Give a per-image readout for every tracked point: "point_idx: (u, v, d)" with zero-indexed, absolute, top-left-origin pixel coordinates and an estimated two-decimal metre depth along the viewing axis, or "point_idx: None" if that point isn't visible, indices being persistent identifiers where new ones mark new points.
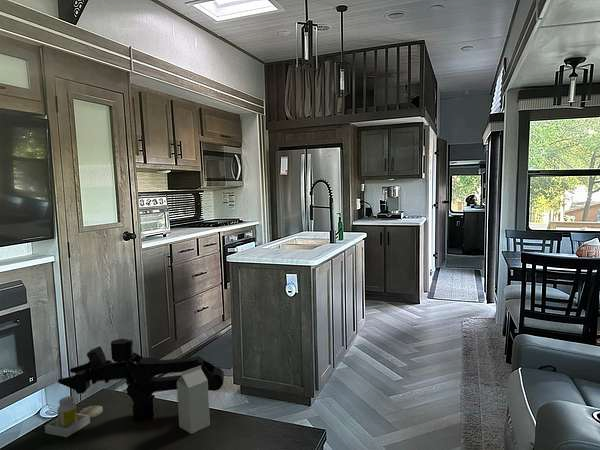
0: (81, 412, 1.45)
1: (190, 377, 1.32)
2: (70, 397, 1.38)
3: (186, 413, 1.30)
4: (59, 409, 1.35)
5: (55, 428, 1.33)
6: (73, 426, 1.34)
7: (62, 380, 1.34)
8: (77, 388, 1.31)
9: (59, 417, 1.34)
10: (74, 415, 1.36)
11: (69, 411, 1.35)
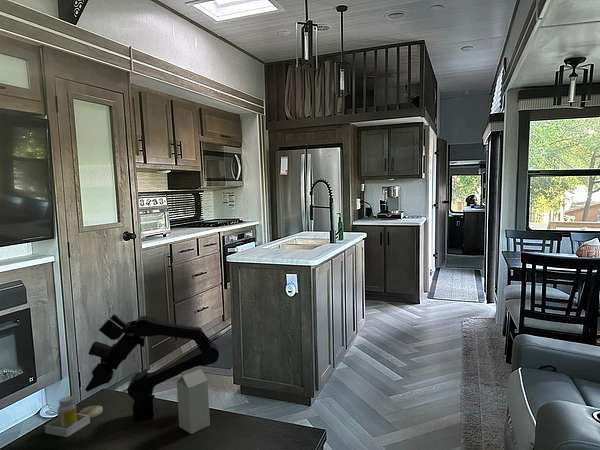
0: (81, 412, 1.45)
1: (190, 377, 1.32)
2: (70, 397, 1.38)
3: (186, 413, 1.30)
4: (59, 409, 1.35)
5: (55, 428, 1.33)
6: (73, 426, 1.34)
7: (88, 387, 1.33)
8: (103, 379, 1.31)
9: (59, 417, 1.34)
10: (74, 415, 1.36)
11: (69, 411, 1.35)
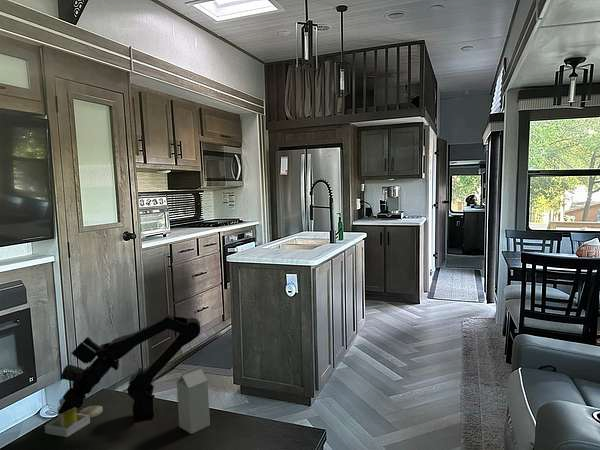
0: (81, 412, 1.45)
1: (190, 377, 1.32)
2: None
3: (186, 413, 1.30)
4: (59, 409, 1.35)
5: (55, 428, 1.33)
6: (73, 426, 1.34)
7: (61, 409, 1.33)
8: (74, 405, 1.29)
9: (59, 417, 1.34)
10: (74, 415, 1.36)
11: (69, 411, 1.35)
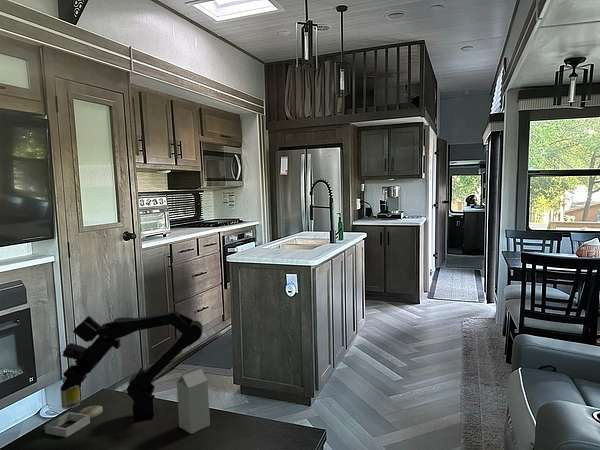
0: (81, 412, 1.45)
1: (190, 377, 1.32)
2: None
3: (186, 413, 1.30)
4: None
5: (55, 428, 1.33)
6: (73, 426, 1.34)
7: (63, 387, 1.35)
8: (74, 381, 1.30)
9: (62, 394, 1.36)
10: (77, 393, 1.38)
11: (71, 388, 1.36)
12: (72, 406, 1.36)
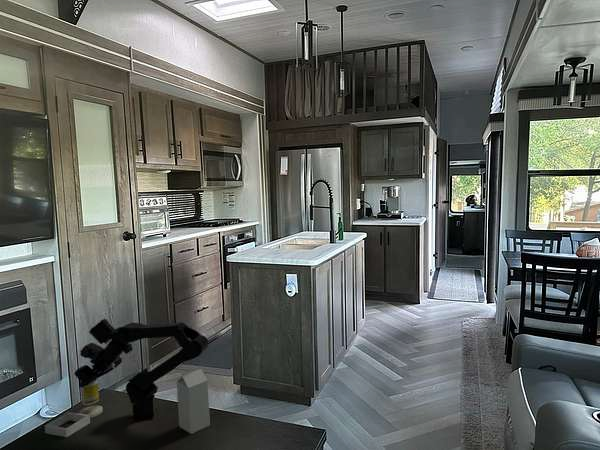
0: (81, 412, 1.45)
1: (190, 377, 1.32)
2: None
3: (186, 413, 1.30)
4: None
5: (55, 428, 1.33)
6: (73, 426, 1.34)
7: (81, 384, 1.43)
8: (82, 381, 1.36)
9: (81, 391, 1.44)
10: (94, 391, 1.45)
11: (88, 386, 1.43)
12: (89, 403, 1.44)
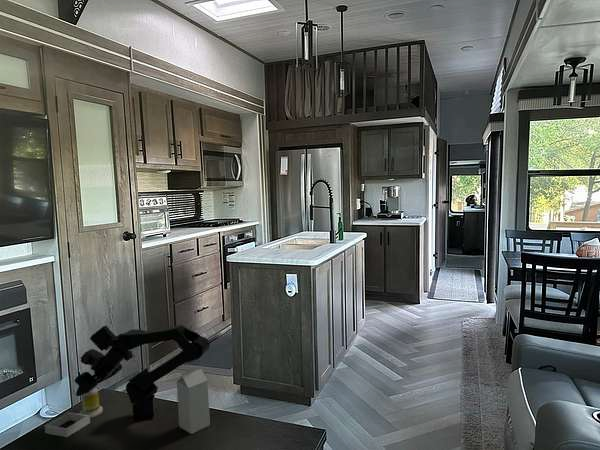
0: (81, 412, 1.45)
1: (190, 377, 1.32)
2: None
3: (186, 413, 1.30)
4: None
5: (55, 428, 1.33)
6: (73, 426, 1.34)
7: (77, 392, 1.41)
8: (82, 388, 1.36)
9: (82, 399, 1.44)
10: (94, 400, 1.45)
11: (88, 395, 1.44)
12: (89, 412, 1.44)
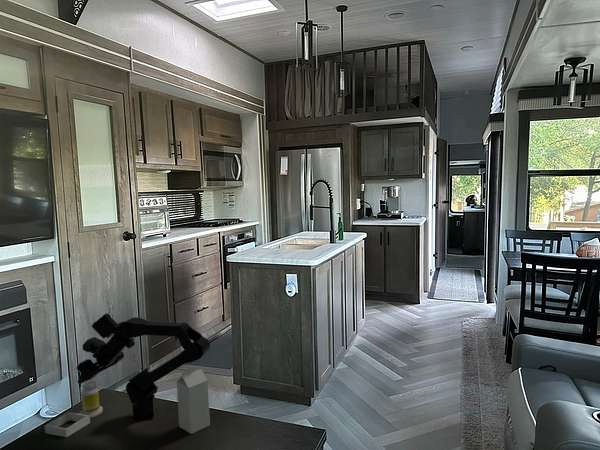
0: (81, 412, 1.45)
1: (190, 377, 1.32)
2: (93, 382, 1.46)
3: (186, 413, 1.30)
4: (82, 392, 1.45)
5: (55, 428, 1.33)
6: (73, 426, 1.34)
7: (79, 380, 1.41)
8: (84, 375, 1.35)
9: (82, 399, 1.44)
10: (94, 400, 1.45)
11: (88, 395, 1.44)
12: (89, 412, 1.44)
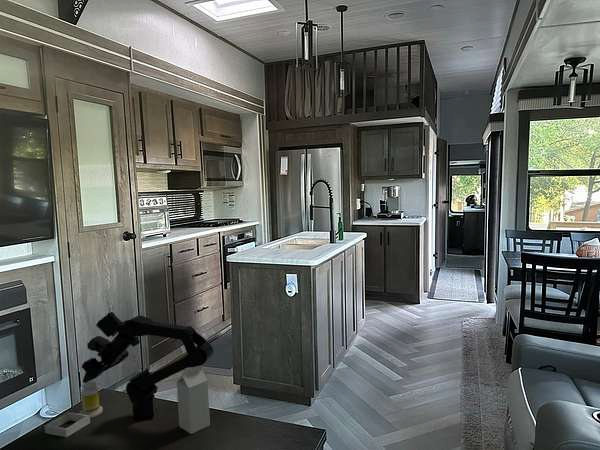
0: (81, 412, 1.45)
1: (190, 377, 1.32)
2: (93, 382, 1.46)
3: (186, 413, 1.30)
4: (82, 392, 1.45)
5: (55, 428, 1.33)
6: (73, 426, 1.34)
7: (84, 379, 1.40)
8: (89, 374, 1.35)
9: (82, 399, 1.44)
10: (94, 400, 1.45)
11: (88, 395, 1.44)
12: (89, 412, 1.44)
